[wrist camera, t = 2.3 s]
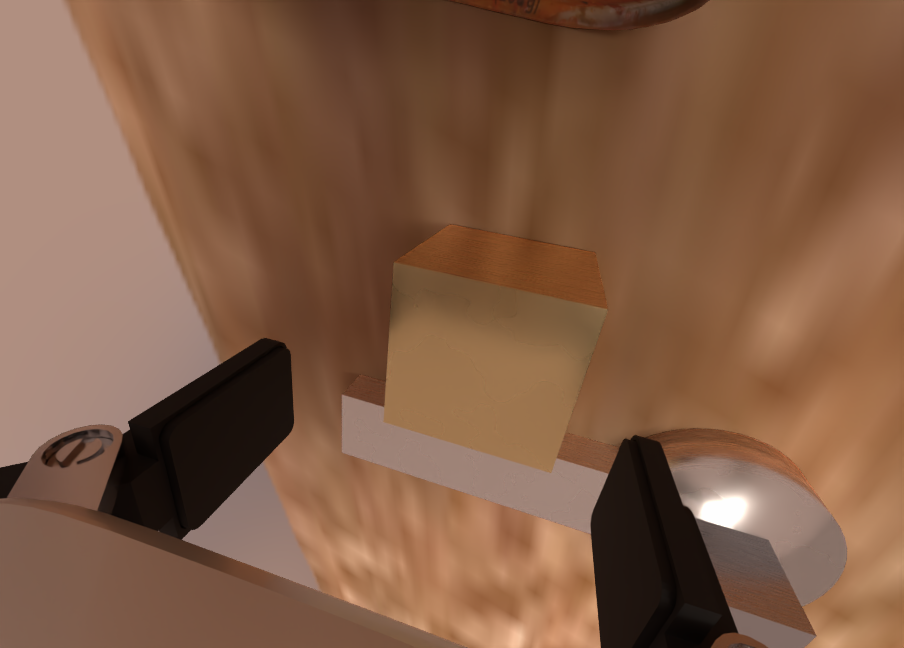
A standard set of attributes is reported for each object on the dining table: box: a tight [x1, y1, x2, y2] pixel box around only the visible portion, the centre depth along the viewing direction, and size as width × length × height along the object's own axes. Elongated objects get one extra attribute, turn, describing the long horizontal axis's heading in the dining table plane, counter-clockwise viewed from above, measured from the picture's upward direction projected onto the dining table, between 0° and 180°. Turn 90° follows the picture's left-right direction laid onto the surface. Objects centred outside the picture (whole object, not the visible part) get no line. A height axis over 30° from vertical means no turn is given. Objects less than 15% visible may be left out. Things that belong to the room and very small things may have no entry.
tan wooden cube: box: [383, 224, 608, 473], centre depth 15 cm, size 6×6×6 cm
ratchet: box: [342, 374, 847, 648], centre depth 17 cm, size 9×22×6 cm, turn 81°
